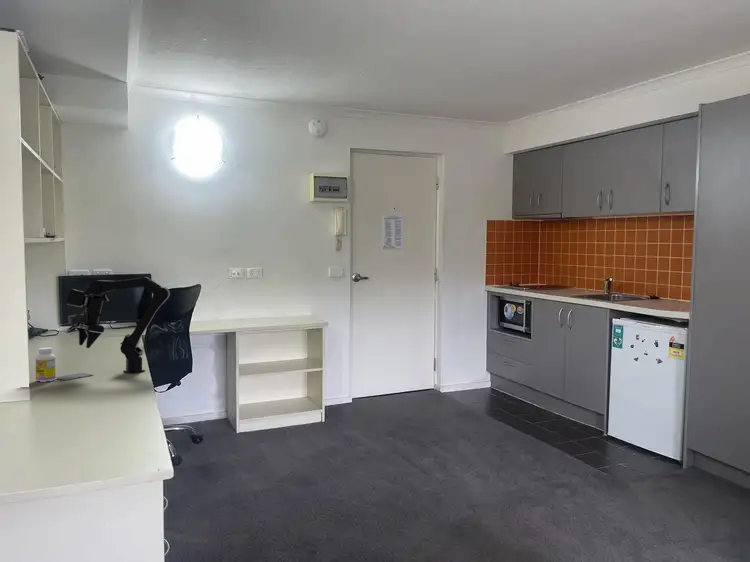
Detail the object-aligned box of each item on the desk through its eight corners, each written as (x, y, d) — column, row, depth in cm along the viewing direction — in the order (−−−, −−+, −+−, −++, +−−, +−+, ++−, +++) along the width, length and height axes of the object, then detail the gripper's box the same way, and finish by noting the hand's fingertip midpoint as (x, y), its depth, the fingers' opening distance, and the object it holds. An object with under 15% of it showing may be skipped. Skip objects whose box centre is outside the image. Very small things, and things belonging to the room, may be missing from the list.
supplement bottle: (32, 381, 218) (31, 348, 217) (48, 378, 224) (48, 346, 223) (42, 383, 215) (42, 350, 214) (59, 380, 220) (58, 347, 220)
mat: (93, 375, 230) (93, 374, 230) (64, 380, 219) (64, 379, 219) (81, 373, 234) (81, 372, 234) (53, 378, 223) (53, 377, 223)
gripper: (66, 304, 234) (56, 341, 232) (80, 307, 221) (70, 346, 219) (93, 309, 242) (84, 344, 240) (108, 312, 229) (99, 350, 227)
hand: (84, 346), depth 231 cm, fingers open, 9 cm apart
